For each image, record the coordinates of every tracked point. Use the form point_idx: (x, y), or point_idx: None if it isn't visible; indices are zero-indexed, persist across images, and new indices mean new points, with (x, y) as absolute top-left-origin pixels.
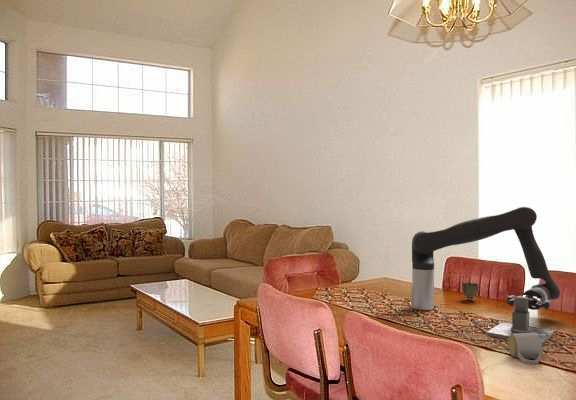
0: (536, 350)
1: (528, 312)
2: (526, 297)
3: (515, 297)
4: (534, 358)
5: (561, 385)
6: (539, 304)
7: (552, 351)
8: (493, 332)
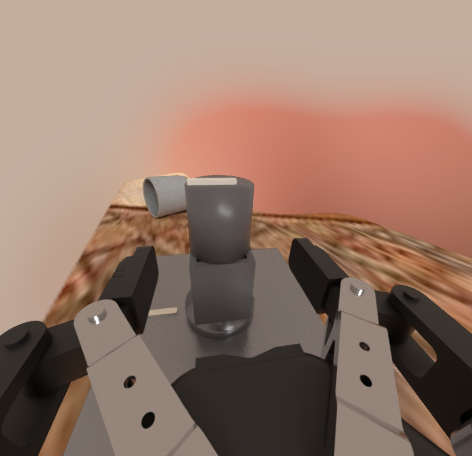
0: (152, 193)
1: (190, 254)
2: (328, 440)
3: (243, 180)
4: (157, 210)
5: (129, 187)
6: (124, 266)
7: (124, 246)
8: (266, 253)
